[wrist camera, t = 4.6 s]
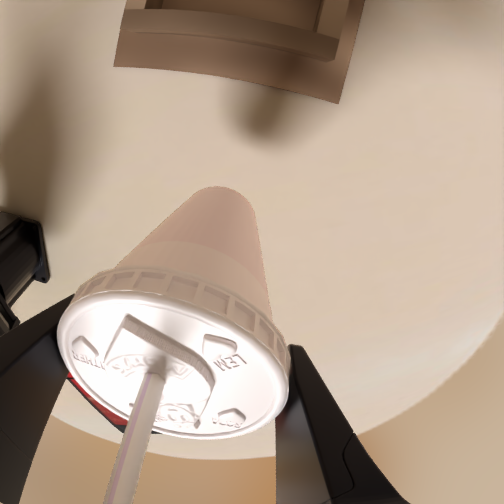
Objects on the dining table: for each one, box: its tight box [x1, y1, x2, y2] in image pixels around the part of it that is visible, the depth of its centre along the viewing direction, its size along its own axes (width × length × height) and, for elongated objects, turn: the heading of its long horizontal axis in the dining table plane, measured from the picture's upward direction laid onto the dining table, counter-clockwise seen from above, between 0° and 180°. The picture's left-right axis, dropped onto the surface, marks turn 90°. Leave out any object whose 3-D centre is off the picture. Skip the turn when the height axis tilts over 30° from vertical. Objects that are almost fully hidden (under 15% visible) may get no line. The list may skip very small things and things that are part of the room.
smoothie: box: [57, 186, 291, 504], centre depth 10 cm, size 6×6×14 cm
